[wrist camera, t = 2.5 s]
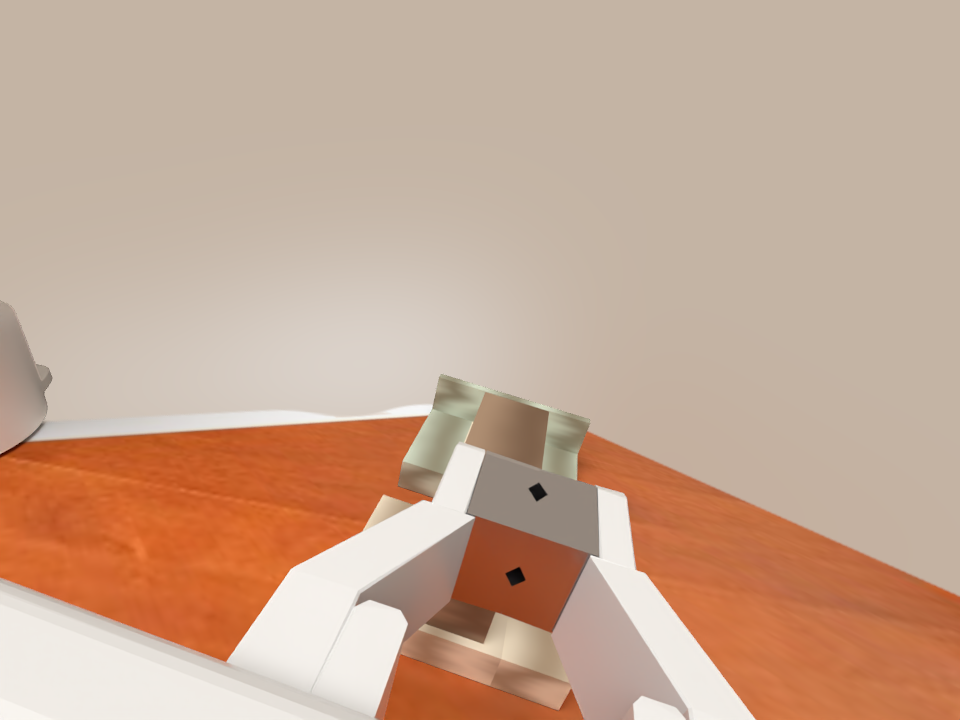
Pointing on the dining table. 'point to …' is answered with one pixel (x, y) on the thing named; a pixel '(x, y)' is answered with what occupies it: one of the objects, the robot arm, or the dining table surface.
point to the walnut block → (511, 436)
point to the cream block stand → (509, 643)
